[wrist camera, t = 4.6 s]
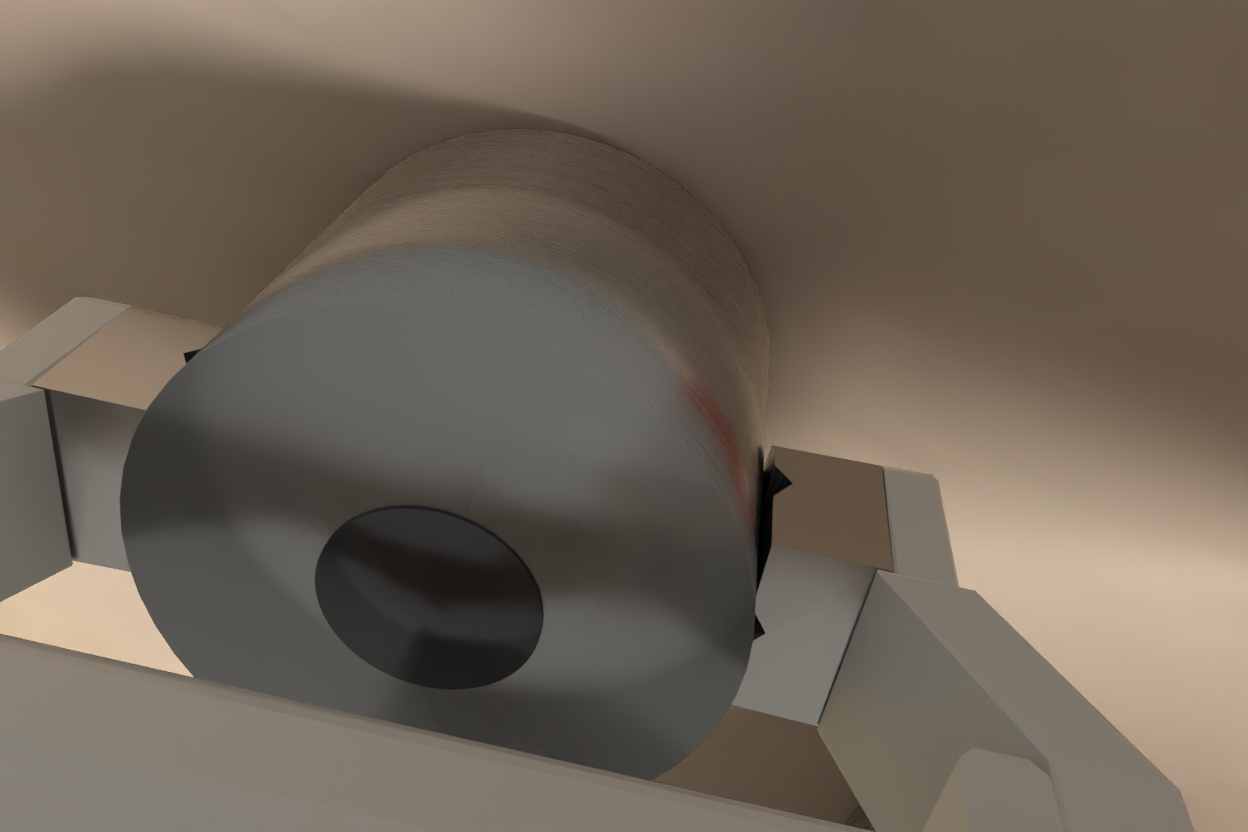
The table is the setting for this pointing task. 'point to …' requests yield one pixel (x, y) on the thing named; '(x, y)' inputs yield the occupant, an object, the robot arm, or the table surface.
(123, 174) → the table surface
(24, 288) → the table surface
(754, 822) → the robot arm
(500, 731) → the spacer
